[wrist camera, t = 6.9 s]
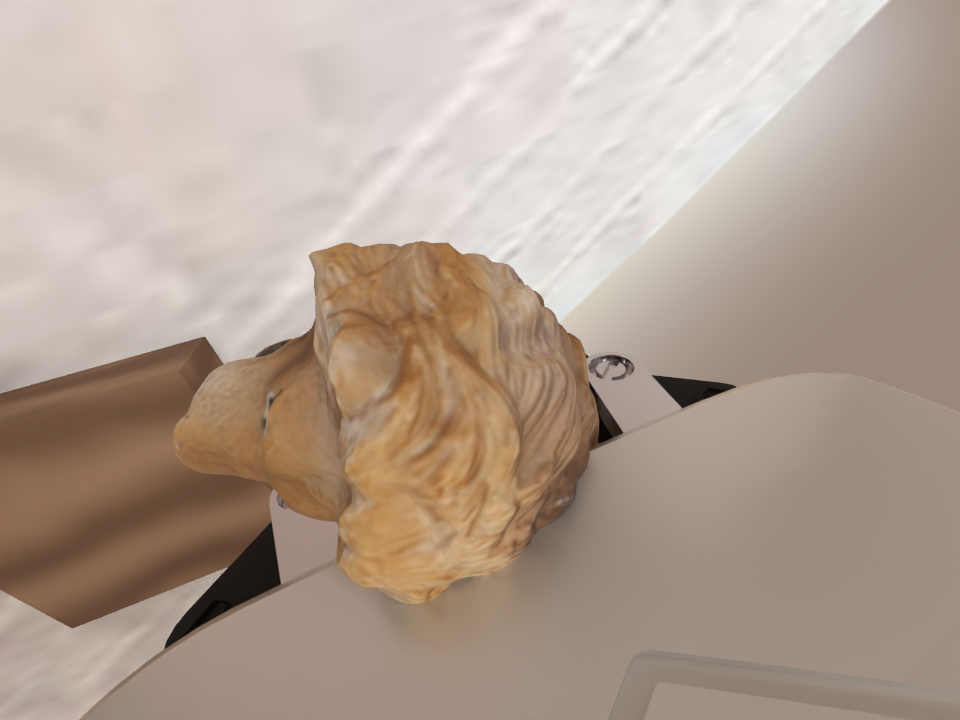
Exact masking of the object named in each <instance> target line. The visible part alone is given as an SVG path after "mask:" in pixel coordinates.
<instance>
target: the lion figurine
mask: <svg viewBox="0 0 960 720" xmlns="http://www.w3.org/2000/svg"><path fill="white" fill-rule="evenodd" d="M309 258H310V260H311V263H312V265H313V267H314V271H315V277H314V289H315V295H316V318H315V321H314V324H313V327H312V328H311V329H310V330H309V331H308V332H307V333H305V334H304V335H303V336H301V337H298V338H295V339H289V340H285V341H282V342H279V343H276V344H274V345H271V346H269V347H266V348H264V349H263V350H262V351H261V352H259V353H258V354H257V355H256V356H255V357H254V358H249V359H242V360H237V361H233V362H229V363H226V364H224V365H222V366H220V367H218V368H216V369H215V370H213V371H212V372H211V373H209V375H208V376H207V378H206V379H205V381H204V382H203V383H202V385H201V386H200V388H199V389H198V391H197V392H196V394H195V395H194V397H193V400H192V402H191V405H190V408H189V410H188V412H187V413H186V414H185V416H184V417H183V418H182V419H181V420H180V421H179V422H178V423H177V424H176V426H175V428H174V429H173V445H174V449H175V452H176V455H177V457H178V458H179V459H180V461H181V462H183V463H184V464H185V465H186V466H187V467H189V468H191V469H193V470H195V471H198V472H201V473H209V474H222V475H235V476H239V477H243V478H246V479H251V480H256V481H261V482H266V483H268V484H270V485H271V486H272V487H273V488H274V490H275V491H276V492H277V493H278V494H279V496H280V497H281V499H282V500H283V502H284V503H285V504H286V506H287V507H288V508H290V509H291V510H292V511H294V512H296V513H298V514H301V515H304V516H307V517H310V518H313V519H316V520H321V521H331V522H337V524H338V545H337V558H336V564H337V565H338V567H339V568H340V569H341V570H342V571H343V573H344V574H345V575H346V576H347V577H348V578H350V579H351V580H352V581H353V582H354V583H355V584H357V585H358V586H360V587H363V588H368V589H370V588H379V590H381V591H382V592H383V593H384V594H386V595H387V596H389V597H391V598H393V599H395V600H398V601H400V602H403V603H406V604H421V603H424V602H426V601H428V600H431V599H433V598H435V597H437V596H439V595H440V594H441V593H443V592H444V591H445V590H446V589H447V588H448V587H449V586H450V584H451V583H452V582H453V581H455V580H458V579H462V578H465V577H473V576H480V575H489V574H491V573H494V572H497V571H499V570H501V569H502V568H504V567H505V566H507V565H509V564H510V563H512V562H513V561H514V560H515V559H516V558H518V557H519V556H520V555H521V553H522V552H523V551H524V550H525V549H526V547H527V546H528V545H529V543H530V541H531V539H532V538H533V536H534V535H535V534H536V533H537V531H538V530H540V529H541V528H542V527H545V526H547V525H549V524H551V523H553V522H554V521H555V520H557V519H558V518H560V517H561V516H562V515H563V514H564V512H565V511H566V510H567V509H568V507H569V506H570V505H571V504H572V502H573V500H574V498H575V495H576V489H577V483H578V480H579V478H580V477H581V476H582V475H583V473H584V472H585V470H586V469H587V465H588V460H589V456H590V453H589V451H590V450H591V449H592V448H593V447H595V446H596V445H597V444H598V442H597V441H598V435H599V416H598V411H597V405H596V401H595V398H594V395H593V394H592V392H591V390H590V387H589V378H588V371H587V360H586V355H585V351H584V348H583V346H582V343H581V341H580V340H579V339H578V338H576V337H575V336H574V335H572V334H570V333H567V332H566V330H565V329H564V328H563V326H562V325H560V324H559V323H558V321H557V319H556V316H555V314H554V313H553V312H552V311H551V310H550V309H548V308H546V307H544V301H543V299H542V297H541V295H539V294H538V293H537V292H536V291H533V290H532V289H531V288H530V287H529V286H527V285H524V283H523V281H522V280H521V279H520V278H519V277H518V275H517V274H516V272H515V271H514V269H513V268H512V267H510V266H509V265H508V264H502V263H495V262H492V261H491V260H489V259H488V258H487V257H486V256H484V255H480V254H463V255H462V254H461V253H459V252H458V251H456V250H455V249H454V248H453V247H452V246H451V245H450V244H449V243H429V242H424V241H420V242H415V243H409V244H406V245H404V246H402V247H399V246H397V245H395V244H376V245H371V246H366V247H359V246H357V245H355V244H352V243H343V244H340V245H337V246H334V247H331V248H328V249H324V250H319V251H315V252H312V253H311V254H310V255H309Z"/></svg>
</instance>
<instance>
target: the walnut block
mask: <svg viewBox="0 0 960 720" xmlns="http://www.w3.org/2000/svg"><path fill="white" fill-rule="evenodd" d="M222 365H224V364H223V363H222V361H221V360H220V358H219V357H218V355H217V354H216V352H215V351H214V350H213V348H212V347H211V345H210V344H209V342H208V341H207V339H206V338H205V337H201V338H198V339H194V340H191V341H187V342H184V343H180V344H176V345H173V346H169V347H166V348H162V349H159V350H155V351H151V352H148V353H144V354H141V355H137V356H134V357H130V358H126V359H123V360H119V361H116V362H112V363H109V364H105V365H101V366H98V367H94V368H91V369H87V370H84V371H80V372H76V373H73V374H69V375H66V376H62V377H59V378H55V379H51V380H48V381H44V382H41V383H37V384H34V385H30V386H26V387H23V388H19V389H16V390H12V391H9V392H5V393H1V394H0V590H2V591H4V592H6V593H8V594H9V595H11V596H13V597H15V598H17V599H19V600H21V601H22V602H24V603H26V604H28V605H30V606H32V607H33V608H35V609H37V610H39V611H41V612H43V613H45V614H46V615H48V616H50V617H52V618H54V619H56V620H58V621H59V622H61V623H63V624H65V625H67V626H69V627H71V628H75V627H77V626H80V625H82V624H85V623H87V622H90V621H92V620H95V619H98V618H100V617H103V616H105V615H108V614H110V613H113V612H115V611H118V610H120V609H123V608H125V607H128V606H130V605H133V604H135V603H138V602H140V601H143V600H145V599H148V598H150V597H153V596H156V595H158V594H161V593H163V592H166V591H168V590H171V589H173V588H176V587H178V586H181V585H183V584H186V583H188V582H191V581H193V580H196V579H198V578H201V577H203V576H206V575H208V574H211V573H214V572H216V571H219V570H221V569H224V568H226V567H229V566H230V565H231V564H232V563H233V562H234V561H235V560H236V559H237V558H238V557H239V556H240V555H241V554H242V552H243V551H244V550H245V549H246V548H247V547H248V546H249V545H250V544H251V543H252V542H253V541H254V540H255V539H256V537H257V536H258V535H259V534H260V533H261V532H262V531H263V530H264V529H265V528H266V527H267V526H268V525H269V524H270V523H271V521H272V520H271V513H270V507H269V502H270V496H271V493H272V491H273V489H274V488H273V487H272V486H271V485H270V484H268V483H266V482H261V481H256V480H251V479H246V478H243V477H239V476H235V475H222V474H209V473H201V472H198V471H195V470H193V469H191V468H189V467H187V466H186V465H185V464H184V463H183V462H181V461H180V459H179V458H178V457H177V455H176V452H175V449H174V445H173V429H174V428H175V426H176V424H177V423H178V422H179V421H180V420H181V419H182V418H183V417H184V416H185V414H186V413H187V412H188V410H189V408H190V405H191V402H192V400H193V397H194V395H195V394H196V392H197V391H198V389H199V388H200V386H201V385H202V383H203V382H204V381H205V379H206V378H207V376H208V375H209V373H211V372H212V371H213V370H215V369H216V368H218V367H220V366H222Z"/></svg>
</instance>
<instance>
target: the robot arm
mask: <svg viewBox="0 0 960 720" xmlns="http://www.w3.org/2000/svg"><path fill="white" fill-rule="evenodd" d="M585 355H586V354H585ZM586 360H587V371H588V378H589V387H590V390H591V392H592V394H593V395H594V398H595V401H596V405H597V411H598V416H599V435H598V441H597V442H598V444H597V445H596V446H595V447H593V448H592V449H591V450H590V451H589V453H590V456H589V460H588V465H587V469H586V470H585V472H584V473H583V475H582V476H581V477H580V478H579V480H578V483H577V489H576V495H575V498H574V500H573V502H572V504H571V505H570V506H569V507H568V509H567V510H566V511H565V512H564V514H563V515H562V516H561V517H560V518H558V519H557V520H555V521H554V522H553V523H551V524H549V525H547V526H545V527H542V528H541V529H540V530H538V531H537V533H536V534H535V535H534V536H533V538H532V539H531V541H530V543H529V545H528V546H527V547H526V549H525V550H524V551H523V552H522V553H521V555H520V556H519V557H518V558H516V559H515V560H514V561H513V562H512V563H510V564H509V565H507V566H505V567H504V568H502V569H501V570H499V571H497V572H494V573H491V574H489V575H480V576H473V577H465V578H462V579H458V580H455V581H453V582H452V583H451V584H450V586H449V587H448V588H447V589H446V590H445V591H444V592H443V593H441V594H440V595H439V596H437V597H435V598H433V599H431V600H428V601H426V602H424V603H421V604H406V603H403V602H400V601H398V600H395V599H393V598H391V597H389V596H387V595H386V594H384V593H383V592H382V591H381V590H379V588H370V589H368V588H363V587H360V586H358V585H357V584H355V583H354V582H353V581H352V580H351V579H350V578H348V577H347V576H346V575H345V574H344V573H343V571H342V570H341V569H340V568H339V567H338V565H337V564H336V558H337V545H338V524H337V522H331V521H321V520H316V519H313V518H310V517H307V516H304V515H301V514H298V513H296V512H294V511H292V510H291V509H290V508H288V507H287V506H286V504H285V503H284V502H283V500H282V499H281V497H280V496H279V494H278V493H277V492H276V491H275V490H274V489H273V491H272V493H271V496H270V502H269V507H270V513H271V520H272V521H271V523H270V524H269V525H268V526H267V527H266V528H265V529H264V530H263V531H262V532H261V533H260V534H259V535H258V536H257V537H256V539H255V540H254V541H253V542H252V543H251V544H250V545H249V546H248V547H247V548H246V549H245V550H244V551H243V552H242V554H241V555H240V556H239V557H238V558H237V559H236V560H235V561H234V562H233V563H232V564H231V565H230V566H229V567H228V569H227V570H226V571H225V572H224V573H223V574H222V575H221V576H220V577H219V578H218V579H217V580H216V581H215V582H214V583H213V585H212V586H211V587H210V588H209V589H208V590H207V591H206V592H205V593H204V594H203V595H202V596H201V597H200V598H199V600H198V601H197V602H196V603H195V604H194V605H193V606H192V607H191V608H190V609H189V610H188V611H187V612H186V614H185V615H184V616H183V617H182V619H181V620H180V621H179V622H178V624H177V625H176V626H175V628H174V629H173V631H172V633H171V635H170V636H169V638H168V640H167V642H166V645H165V648H164V650H163V651H161V652H160V653H158V654H157V655H155V656H154V657H153V658H151V659H150V660H149V661H148V662H146V663H145V664H144V665H142V666H141V667H140V668H139V669H137V670H136V671H135V672H133V673H132V674H131V675H130V676H128V677H127V678H126V679H124V680H123V681H122V682H121V683H119V684H118V685H117V686H115V687H114V688H113V689H112V690H111V691H110V692H109V693H107V694H106V695H105V696H104V697H103V698H102V699H101V700H100V701H98V702H97V703H96V704H95V705H94V706H93V707H92V708H91V709H90V710H89V711H88V712H87V713H86V714H84V715H83V716H82V717H81V718H80V719H79V720H960V413H959V412H956V411H954V410H951V409H949V408H947V407H944V406H941V405H939V404H937V403H934V402H931V401H929V400H926V399H924V398H921V397H918V396H916V395H913V394H911V393H908V392H905V391H903V390H900V389H897V388H894V387H891V386H888V385H885V384H882V383H879V382H876V381H874V380H871V379H867V378H863V377H860V376H856V375H851V374H844V373H827V372H825V373H824V372H823V373H822V372H819V373H803V374H791V375H784V376H778V377H773V378H768V379H763V380H759V381H756V382H752V383H749V384H746V385H742V386H739V387H736V386H733V385H729V384H724V383H717V382H709V381H699V380H691V379H682V378H672V377H663V376H653V375H650V374H649V372H648V371H647V370H646V369H645V368H644V367H643V366H642V365H641V364H640V363H639V362H638V361H637V360H636V359H634V358H633V357H631V356H629V355H627V354H624V353H619V352H602V353H597V354H594V355H591V356H590V357H589V356H587V355H586Z"/></svg>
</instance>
